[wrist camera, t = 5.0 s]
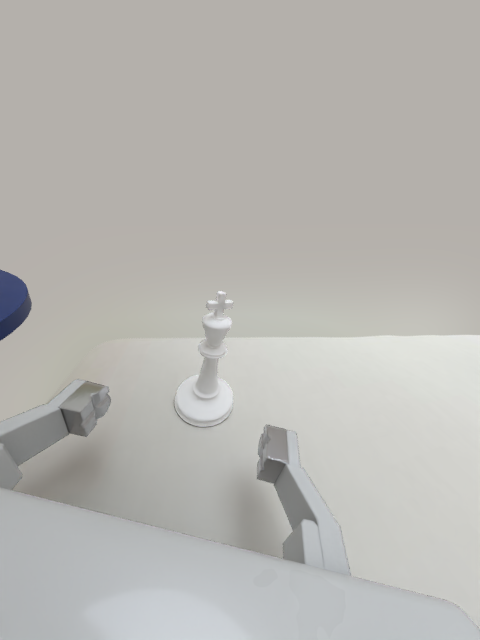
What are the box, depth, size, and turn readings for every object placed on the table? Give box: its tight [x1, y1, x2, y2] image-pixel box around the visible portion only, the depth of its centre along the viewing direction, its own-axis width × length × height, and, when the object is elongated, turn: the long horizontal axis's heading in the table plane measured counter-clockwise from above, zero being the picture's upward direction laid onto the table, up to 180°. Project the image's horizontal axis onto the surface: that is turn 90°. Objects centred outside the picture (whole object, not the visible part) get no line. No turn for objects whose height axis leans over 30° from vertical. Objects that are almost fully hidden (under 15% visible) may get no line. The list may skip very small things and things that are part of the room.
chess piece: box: [174, 291, 233, 427], centre depth 16 cm, size 5×5×10 cm
